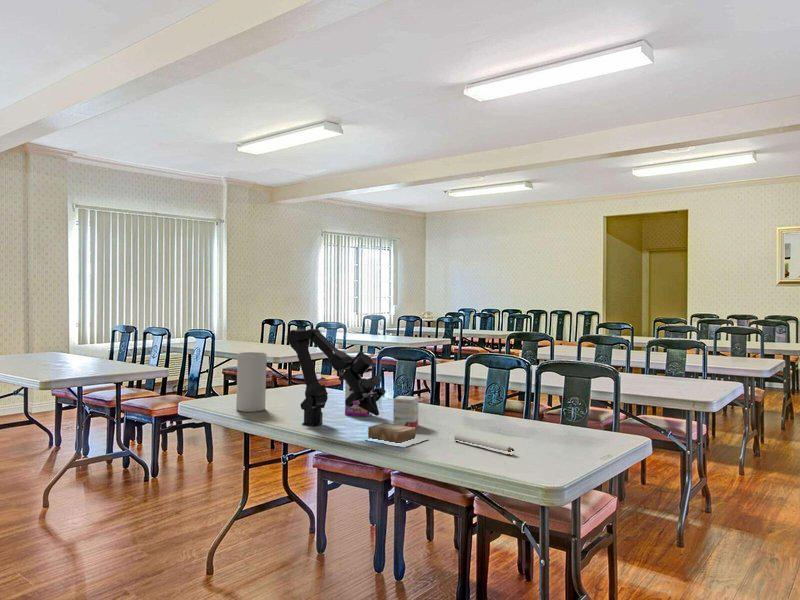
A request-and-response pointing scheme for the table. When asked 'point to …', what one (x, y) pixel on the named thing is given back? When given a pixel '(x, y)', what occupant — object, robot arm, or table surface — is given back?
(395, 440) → the brown cardboard box
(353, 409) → the candy bar box
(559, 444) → the table surface
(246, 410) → the cylinder vase
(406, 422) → the ink box
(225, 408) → the table surface
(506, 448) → the tube
